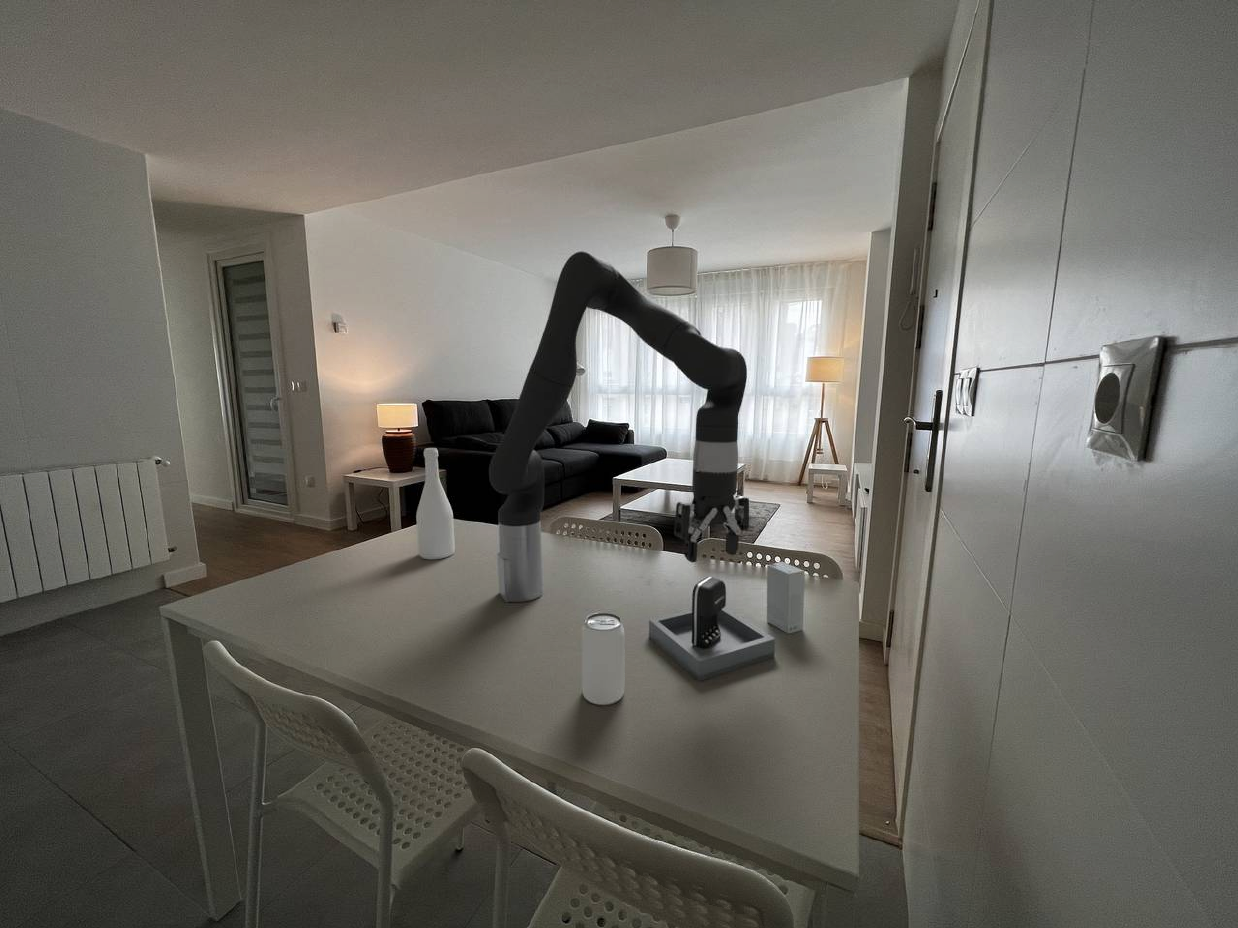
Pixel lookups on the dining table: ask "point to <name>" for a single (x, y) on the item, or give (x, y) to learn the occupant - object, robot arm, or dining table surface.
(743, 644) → the tray
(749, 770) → the dining table surface
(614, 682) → the can
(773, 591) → the skincare box
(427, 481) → the wine bottle
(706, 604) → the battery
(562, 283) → the robot arm
